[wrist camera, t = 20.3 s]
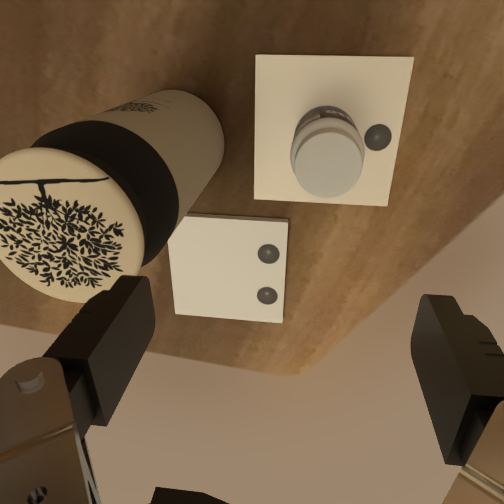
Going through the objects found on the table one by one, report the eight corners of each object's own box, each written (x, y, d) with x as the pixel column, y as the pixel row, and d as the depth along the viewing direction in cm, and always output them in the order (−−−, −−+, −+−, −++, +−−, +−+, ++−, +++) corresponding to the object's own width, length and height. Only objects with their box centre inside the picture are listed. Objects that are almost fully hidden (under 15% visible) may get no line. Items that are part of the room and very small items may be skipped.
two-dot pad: (167, 211, 36) (164, 215, 36) (288, 218, 35) (288, 223, 34) (177, 309, 42) (175, 314, 41) (282, 318, 40) (282, 323, 40)
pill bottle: (369, 136, 30) (387, 167, 23) (322, 178, 32) (325, 219, 25) (326, 89, 29) (331, 107, 22) (281, 136, 31) (271, 166, 24)
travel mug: (223, 191, 35) (151, 319, 19) (135, 180, 35) (-5, 296, 20) (227, 94, 31) (141, 155, 15) (128, 84, 31) (-53, 132, 16)
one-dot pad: (257, 54, 29) (255, 54, 28) (411, 56, 28) (414, 57, 27) (255, 195, 35) (253, 199, 34) (385, 202, 33) (387, 206, 33)
